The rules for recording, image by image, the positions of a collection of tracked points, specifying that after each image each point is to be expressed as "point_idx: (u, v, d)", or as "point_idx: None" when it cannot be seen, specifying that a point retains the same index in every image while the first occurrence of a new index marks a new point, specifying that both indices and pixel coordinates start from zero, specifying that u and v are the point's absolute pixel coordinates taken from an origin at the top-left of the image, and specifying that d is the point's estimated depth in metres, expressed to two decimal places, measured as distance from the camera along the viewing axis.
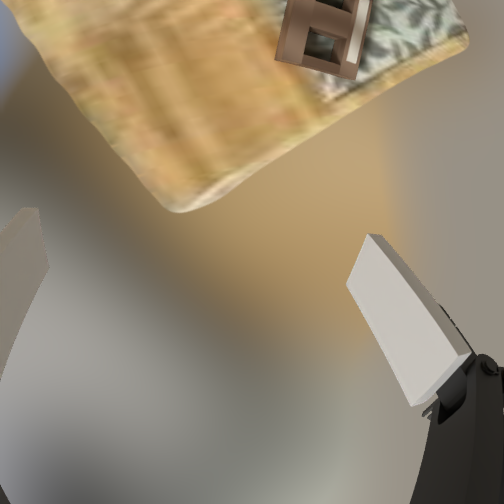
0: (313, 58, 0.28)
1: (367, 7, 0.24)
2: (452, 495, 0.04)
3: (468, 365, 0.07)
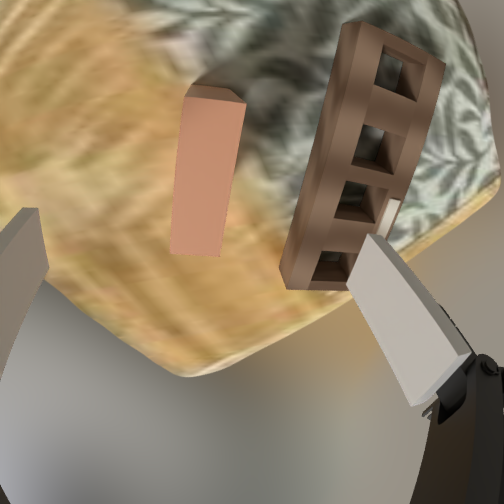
0: (321, 282, 0.30)
1: (395, 212, 0.26)
2: (452, 495, 0.04)
3: (468, 365, 0.07)
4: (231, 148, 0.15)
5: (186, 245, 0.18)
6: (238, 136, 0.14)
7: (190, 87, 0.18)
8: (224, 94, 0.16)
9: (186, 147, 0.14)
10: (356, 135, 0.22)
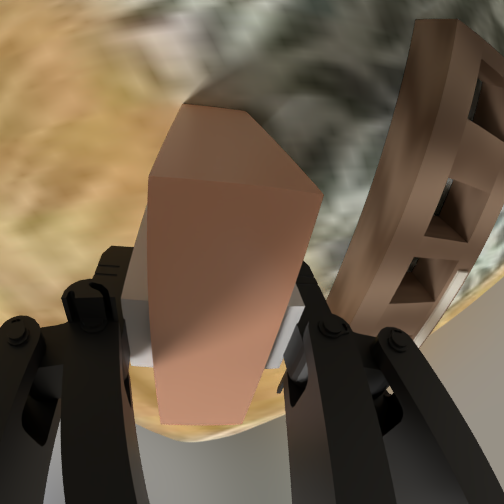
0: None
1: (459, 286, 0.18)
2: None
3: None
4: (275, 296, 0.06)
5: (187, 418, 0.09)
6: (294, 271, 0.06)
7: (178, 114, 0.10)
8: (248, 137, 0.08)
9: (168, 298, 0.06)
10: (438, 195, 0.14)
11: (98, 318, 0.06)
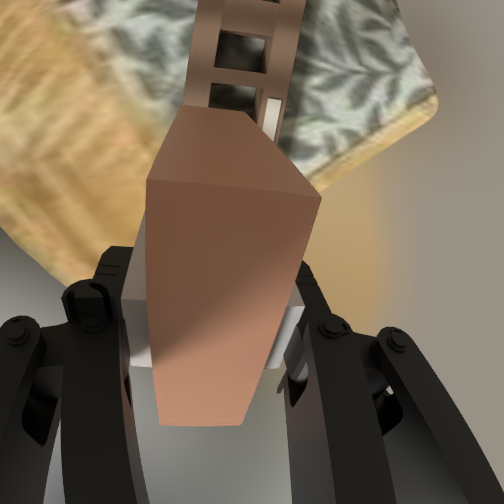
0: None
1: (278, 113, 0.25)
2: None
3: None
4: (273, 299, 0.06)
5: (186, 419, 0.09)
6: (292, 273, 0.06)
7: (177, 116, 0.10)
8: (246, 139, 0.08)
9: (167, 300, 0.06)
10: (214, 40, 0.21)
11: (98, 318, 0.06)
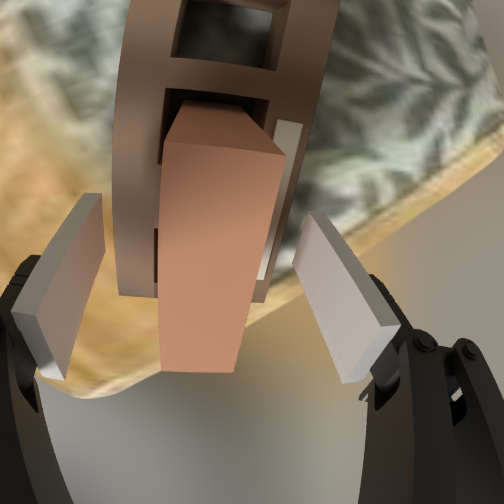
0: None
1: (295, 148, 0.14)
2: (399, 494, 0.04)
3: (401, 340, 0.08)
4: (254, 237, 0.09)
5: (184, 362, 0.11)
6: (268, 215, 0.08)
7: (182, 107, 0.12)
8: (237, 123, 0.10)
9: (174, 236, 0.08)
10: (174, 4, 0.09)
11: None
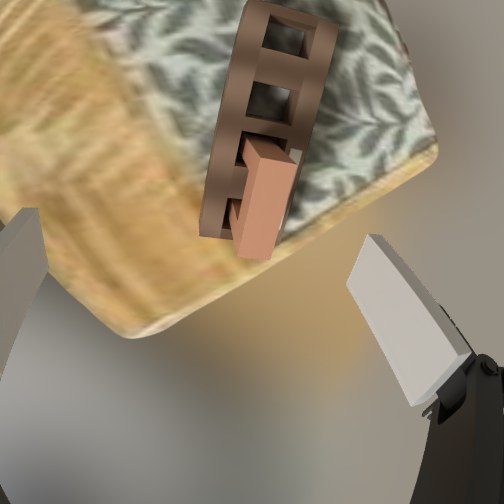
0: None
1: (298, 162, 0.30)
2: (452, 495, 0.04)
3: (468, 365, 0.07)
4: (285, 191, 0.24)
5: (249, 252, 0.27)
6: (290, 184, 0.24)
7: (248, 140, 0.28)
8: (276, 151, 0.26)
9: (258, 189, 0.24)
10: (248, 90, 0.25)
11: None
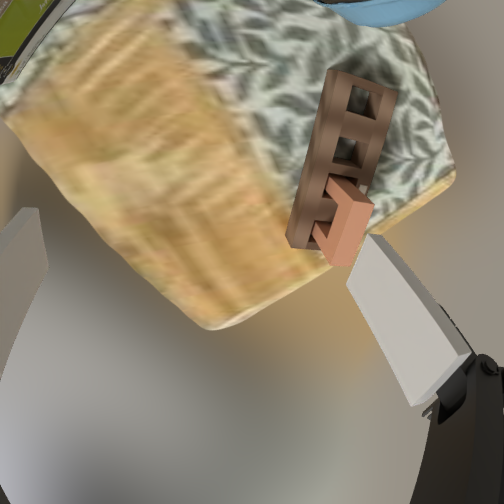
0: (315, 243, 0.44)
1: (364, 194, 0.40)
2: (452, 495, 0.04)
3: (468, 365, 0.07)
4: (365, 222, 0.35)
5: (338, 261, 0.38)
6: (369, 217, 0.34)
7: (332, 179, 0.38)
8: (355, 190, 0.36)
9: (349, 221, 0.34)
10: (335, 143, 0.35)
11: None
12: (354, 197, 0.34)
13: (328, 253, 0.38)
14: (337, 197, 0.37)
